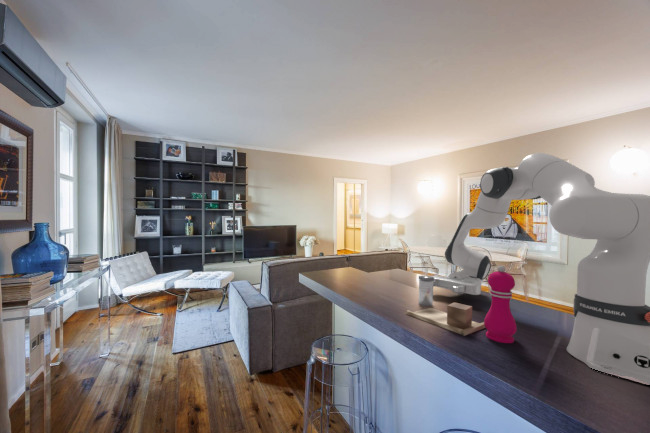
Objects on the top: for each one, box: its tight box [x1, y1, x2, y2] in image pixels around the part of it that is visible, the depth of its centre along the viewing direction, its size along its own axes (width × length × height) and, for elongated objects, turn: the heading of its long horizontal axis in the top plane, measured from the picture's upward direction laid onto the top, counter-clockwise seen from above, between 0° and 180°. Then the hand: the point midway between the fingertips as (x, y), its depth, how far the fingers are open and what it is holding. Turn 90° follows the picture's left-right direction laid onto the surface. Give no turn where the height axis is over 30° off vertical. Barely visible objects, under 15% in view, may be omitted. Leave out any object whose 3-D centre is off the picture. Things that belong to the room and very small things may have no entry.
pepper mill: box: [483, 265, 518, 344], centre depth 72 cm, size 7×7×20 cm
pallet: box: [405, 307, 486, 336], centre depth 84 cm, size 19×13×2 cm
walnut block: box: [446, 301, 473, 330], centre depth 79 cm, size 5×5×6 cm
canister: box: [418, 275, 434, 307], centre depth 100 cm, size 5×5×11 cm
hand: (442, 286), depth 107 cm, fingers open, 8 cm apart
